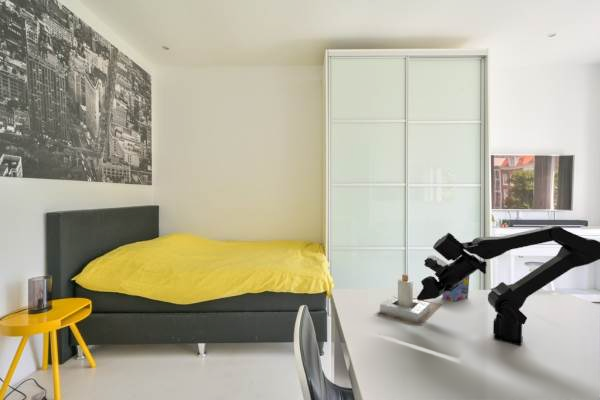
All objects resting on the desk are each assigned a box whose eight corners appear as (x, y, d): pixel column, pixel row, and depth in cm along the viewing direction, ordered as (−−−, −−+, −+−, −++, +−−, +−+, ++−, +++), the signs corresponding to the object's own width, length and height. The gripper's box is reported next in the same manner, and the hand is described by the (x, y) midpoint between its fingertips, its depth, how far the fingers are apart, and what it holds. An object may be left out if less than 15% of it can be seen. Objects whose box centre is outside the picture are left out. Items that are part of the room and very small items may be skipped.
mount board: (442, 306, 116) (442, 304, 116) (421, 328, 97) (421, 325, 97) (403, 297, 125) (403, 295, 125) (376, 315, 106) (376, 313, 106)
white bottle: (414, 311, 108) (414, 274, 108) (410, 315, 104) (410, 277, 104) (400, 308, 111) (400, 272, 111) (395, 312, 107) (395, 275, 107)
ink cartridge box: (454, 303, 119) (455, 266, 119) (441, 299, 124) (442, 263, 124) (469, 300, 124) (470, 264, 124) (456, 295, 129) (457, 261, 129)
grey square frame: (429, 311, 109) (430, 303, 109) (417, 323, 99) (418, 313, 99) (394, 302, 117) (394, 295, 117) (379, 312, 107) (380, 304, 107)
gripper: (452, 245, 105) (421, 271, 113) (428, 252, 93) (394, 280, 101) (477, 273, 99) (442, 298, 108) (455, 283, 87) (417, 311, 95)
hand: (424, 296), depth 103 cm, fingers open, 9 cm apart
